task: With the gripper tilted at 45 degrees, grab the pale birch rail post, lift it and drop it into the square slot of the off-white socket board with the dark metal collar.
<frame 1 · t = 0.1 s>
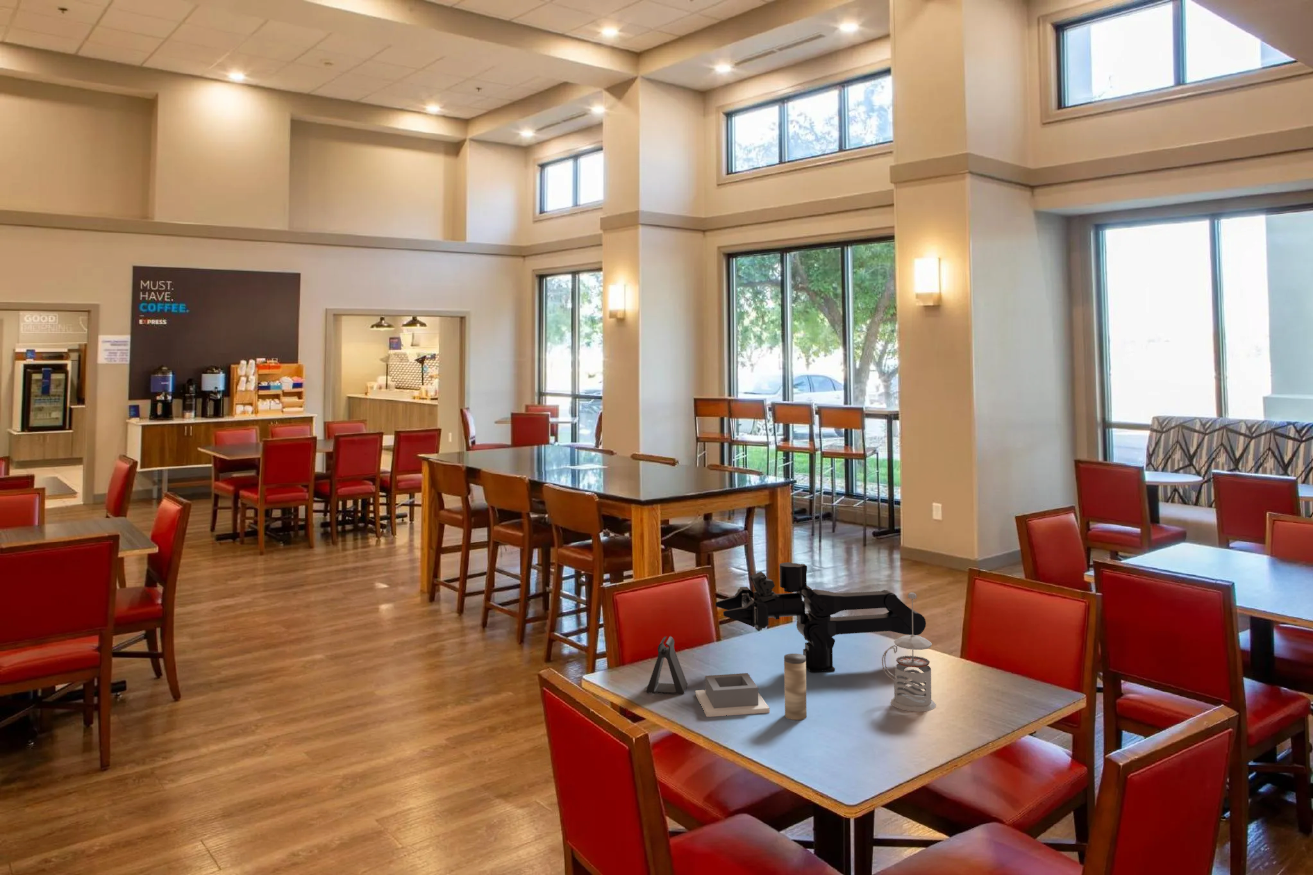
hand: (719, 608, 210), 17 cm above the table, tool horizontal, fingers open, 9 cm apart
post socket: (731, 703, 191), on the table
rail post: (795, 716, 183), on the table
phone stand: (667, 690, 202), on the table
french press: (909, 703, 189), on the table
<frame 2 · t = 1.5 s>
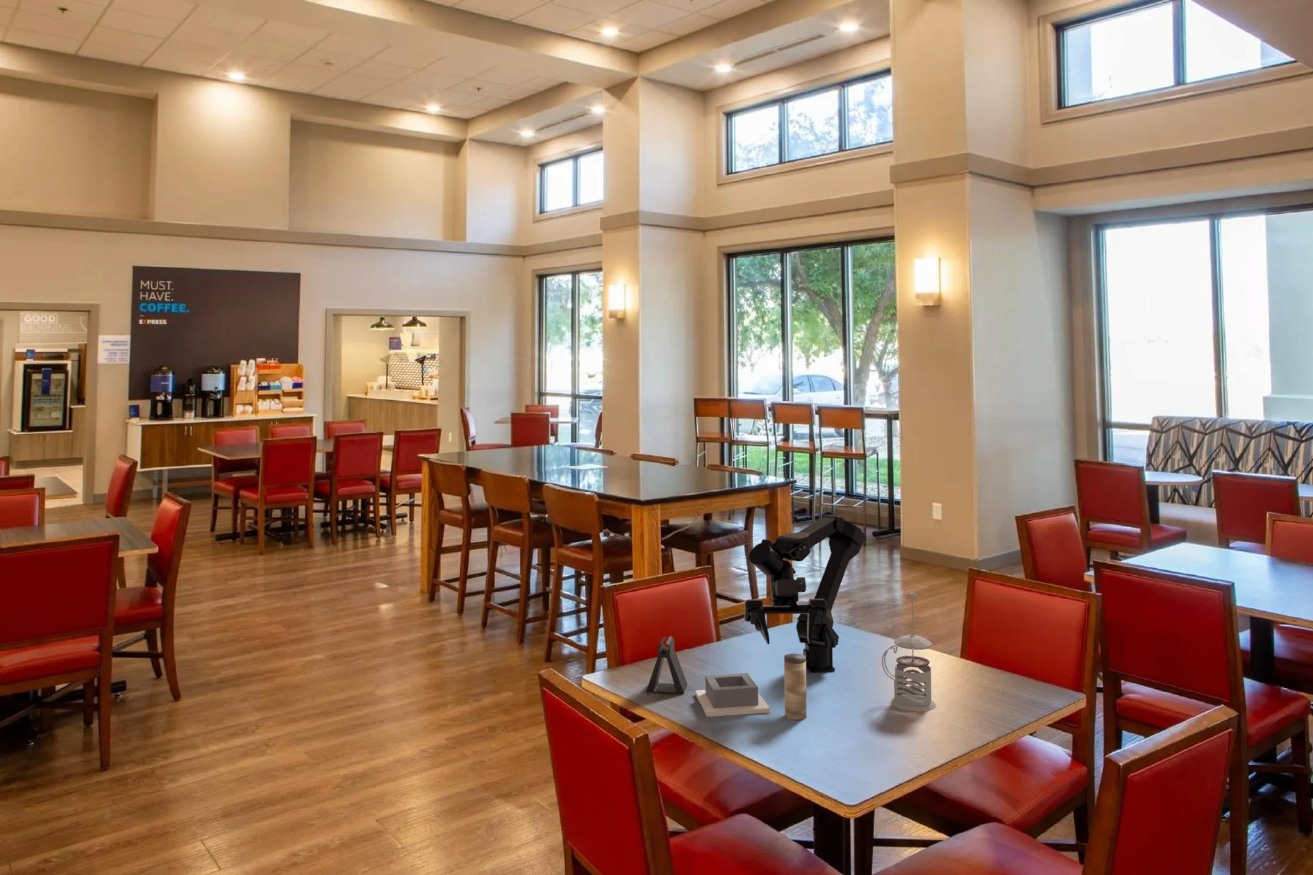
hand: (789, 643, 190), 14 cm above the table, tool tilted 45°, fingers open, 9 cm apart
nothing on the table moved.
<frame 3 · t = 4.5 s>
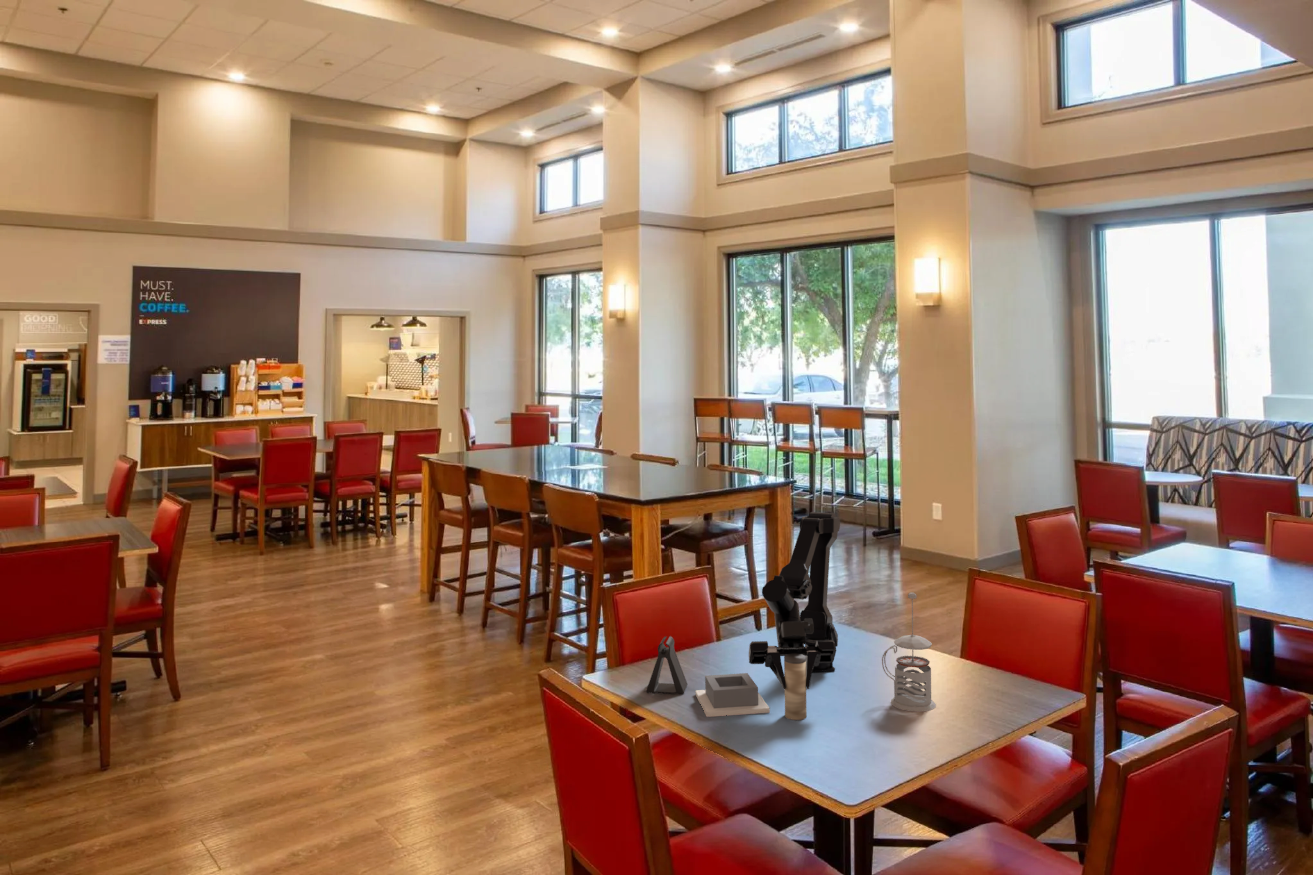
hand: (796, 688, 181), 7 cm above the table, tool tilted 45°, fingers closed on rail post, 5 cm apart
rail post: (795, 715, 183), on the table, touching gripper
everything else where it was.
when the fingers open (8 cm above the table, at t = 8.7 s): rail post stays where it is, resting on post socket.
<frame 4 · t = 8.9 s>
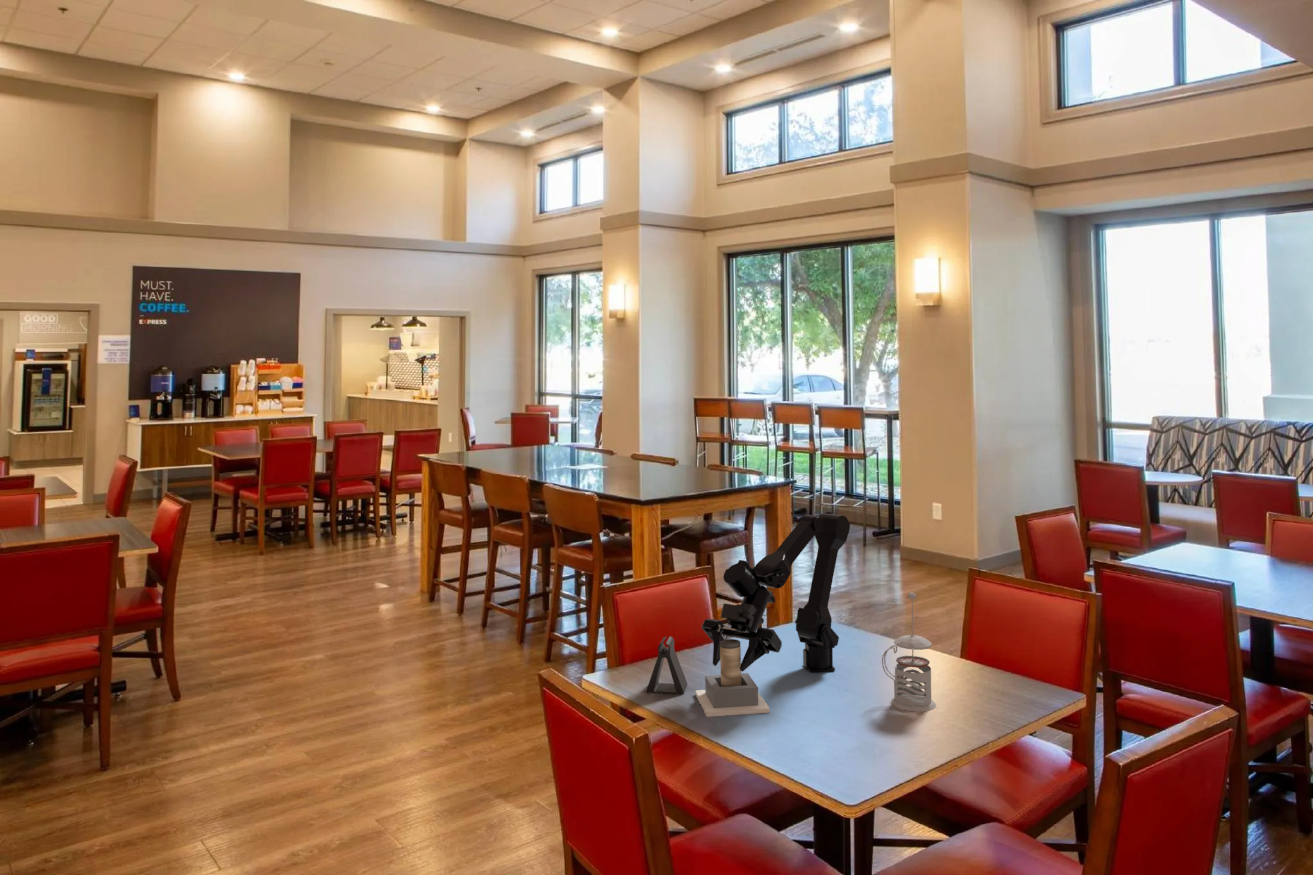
hand: (727, 667, 190), 9 cm above the table, tool tilted 45°, fingers open, 7 cm apart
rail post: (731, 698, 191), point 1 cm above the table, touching post socket
everything else where it was.
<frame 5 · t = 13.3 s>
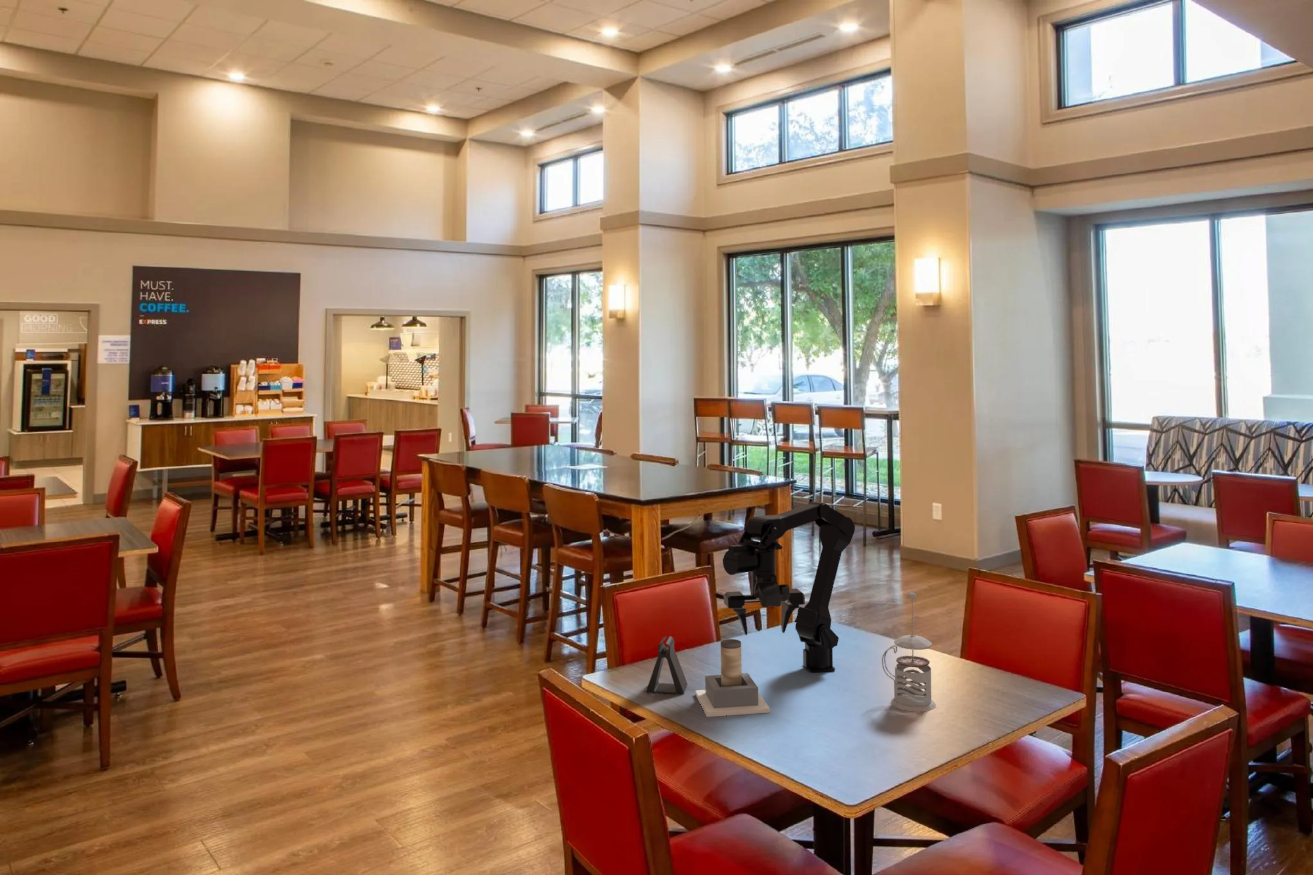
hand: (764, 633, 204), 12 cm above the table, tool pointing down, fingers open, 9 cm apart
nothing on the table moved.
at the end: rail post 0.1 cm off-centre on the post socket, point 1.0 cm above the post socket's base; rail post tilted 0°; the gripper is holding nothing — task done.
